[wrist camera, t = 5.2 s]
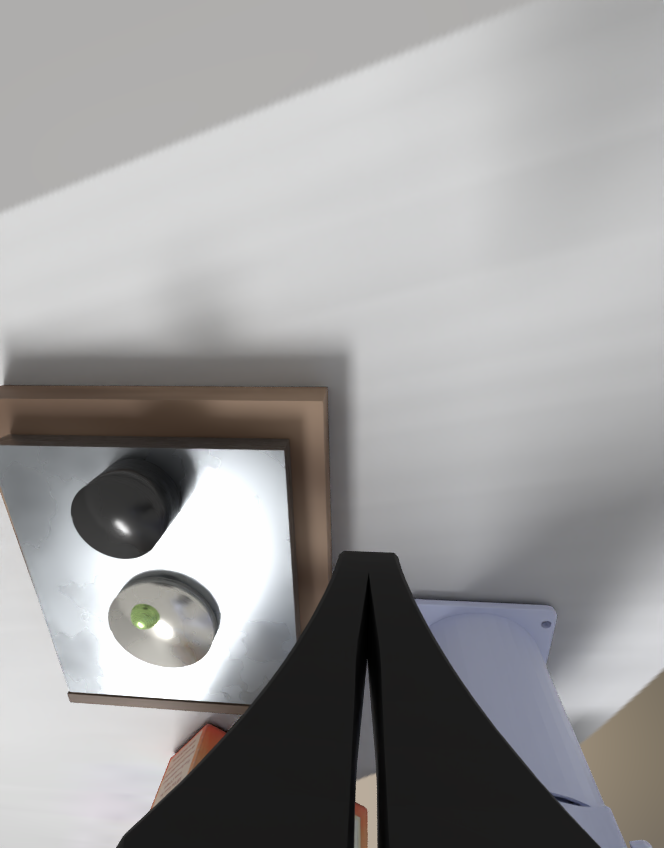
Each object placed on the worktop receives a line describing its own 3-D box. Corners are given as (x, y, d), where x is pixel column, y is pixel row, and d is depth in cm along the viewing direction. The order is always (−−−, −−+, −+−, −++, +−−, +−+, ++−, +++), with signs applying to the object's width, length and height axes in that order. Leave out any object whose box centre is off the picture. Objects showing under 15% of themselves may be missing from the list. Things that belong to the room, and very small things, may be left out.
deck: (303, 687, 24) (294, 747, 21) (82, 672, 25) (44, 728, 22) (289, 438, 19) (273, 473, 16) (8, 434, 20) (-57, 465, 17)
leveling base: (334, 668, 26) (329, 721, 23) (87, 653, 28) (53, 701, 25) (327, 387, 20) (319, 411, 17) (2, 385, 21) (-58, 407, 18)
